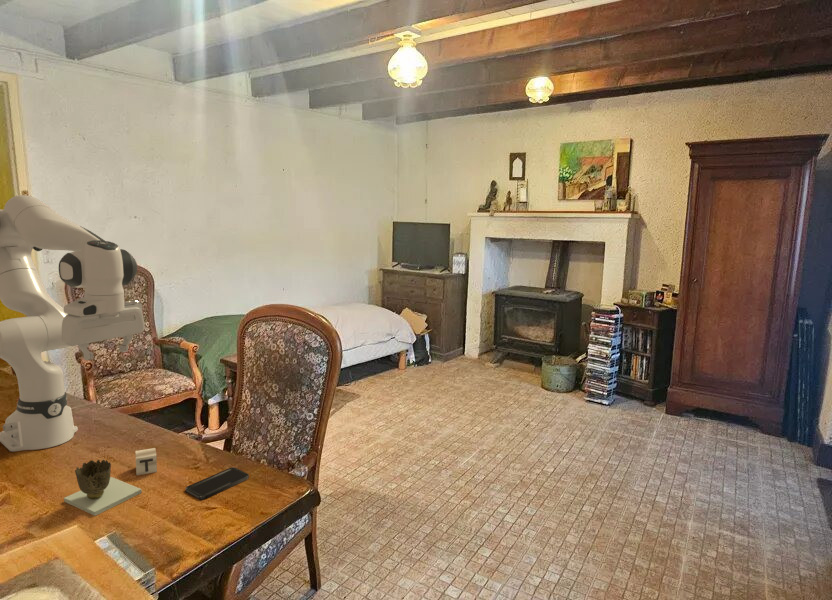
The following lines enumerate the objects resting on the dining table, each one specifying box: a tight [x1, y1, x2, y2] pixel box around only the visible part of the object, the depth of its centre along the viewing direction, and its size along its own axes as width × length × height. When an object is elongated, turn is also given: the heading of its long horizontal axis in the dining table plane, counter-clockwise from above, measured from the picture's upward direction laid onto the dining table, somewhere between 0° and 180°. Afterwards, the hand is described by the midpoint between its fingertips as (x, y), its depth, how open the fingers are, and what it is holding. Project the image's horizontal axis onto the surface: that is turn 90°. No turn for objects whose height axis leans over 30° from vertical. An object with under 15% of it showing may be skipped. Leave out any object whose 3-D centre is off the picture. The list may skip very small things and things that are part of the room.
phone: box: [185, 466, 250, 501], centre depth 137 cm, size 8×1×15 cm
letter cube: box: [135, 447, 158, 476], centre depth 142 cm, size 5×5×5 cm
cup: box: [74, 459, 112, 499], centre depth 126 cm, size 8×7×8 cm
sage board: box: [63, 476, 142, 517], centre depth 128 cm, size 12×12×1 cm
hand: (106, 355), depth 135 cm, fingers open, 8 cm apart
